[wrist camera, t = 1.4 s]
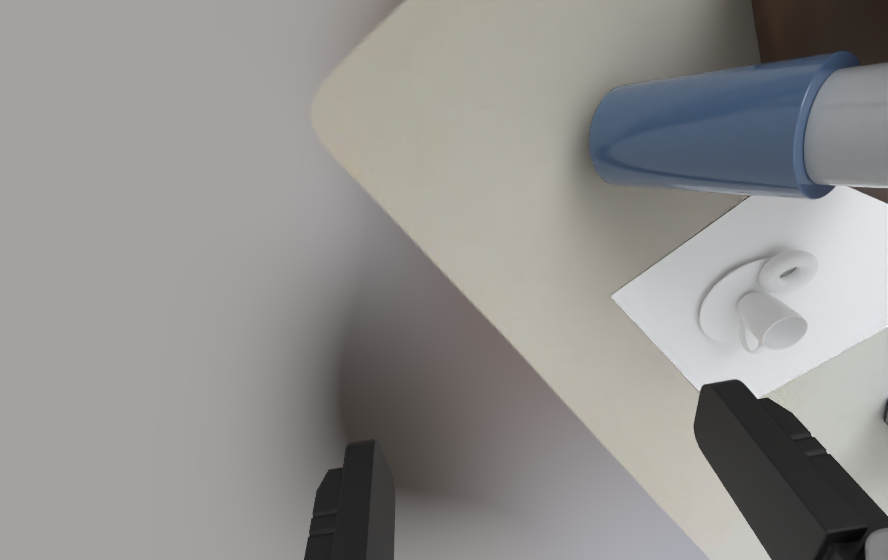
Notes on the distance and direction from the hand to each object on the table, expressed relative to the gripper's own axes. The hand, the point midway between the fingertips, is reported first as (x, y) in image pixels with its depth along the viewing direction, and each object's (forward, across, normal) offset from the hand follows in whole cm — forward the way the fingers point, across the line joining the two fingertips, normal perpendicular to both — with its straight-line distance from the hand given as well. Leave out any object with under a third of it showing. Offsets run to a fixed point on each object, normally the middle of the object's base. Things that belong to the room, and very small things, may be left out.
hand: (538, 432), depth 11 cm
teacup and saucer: (+20, -24, +14) cm, 34 cm away
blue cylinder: (+20, -13, -2) cm, 24 cm away
